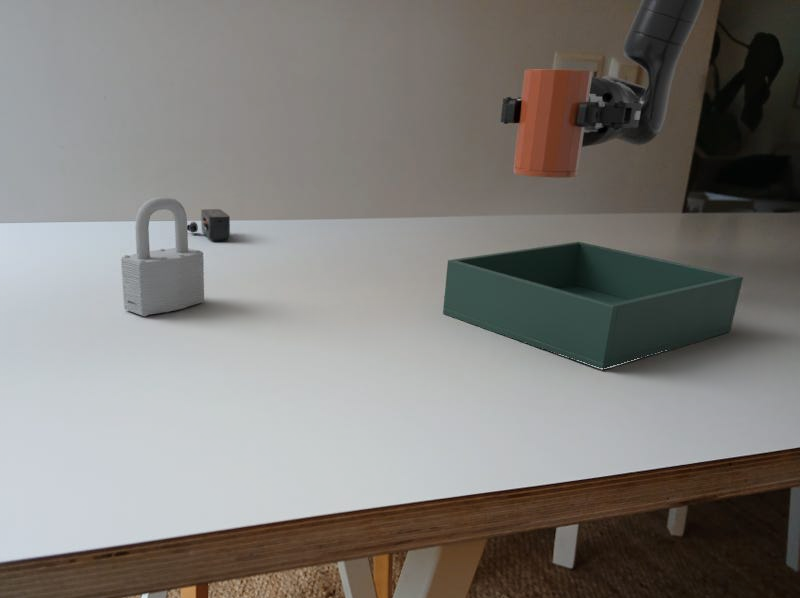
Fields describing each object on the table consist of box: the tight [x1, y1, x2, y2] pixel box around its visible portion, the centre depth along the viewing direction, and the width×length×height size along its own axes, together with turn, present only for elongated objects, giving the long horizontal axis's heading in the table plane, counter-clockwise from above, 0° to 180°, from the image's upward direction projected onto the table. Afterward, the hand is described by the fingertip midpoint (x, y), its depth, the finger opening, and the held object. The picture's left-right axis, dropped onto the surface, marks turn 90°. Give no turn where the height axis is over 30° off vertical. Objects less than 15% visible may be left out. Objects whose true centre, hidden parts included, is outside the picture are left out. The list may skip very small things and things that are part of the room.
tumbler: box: [512, 68, 594, 179], centre depth 75 cm, size 6×6×10 cm
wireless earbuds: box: [187, 208, 231, 242], centre depth 99 cm, size 5×7×3 cm, turn 19°
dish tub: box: [442, 241, 744, 369], centre depth 67 cm, size 19×17×5 cm
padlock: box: [120, 196, 205, 317], centre depth 66 cm, size 7×4×10 cm, turn 138°
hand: (545, 113), depth 73 cm, fingers closed on tumbler, 6 cm apart
